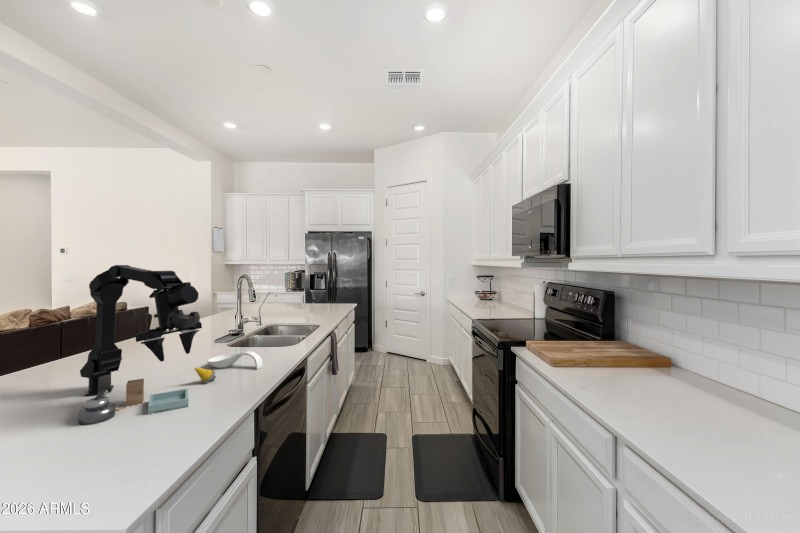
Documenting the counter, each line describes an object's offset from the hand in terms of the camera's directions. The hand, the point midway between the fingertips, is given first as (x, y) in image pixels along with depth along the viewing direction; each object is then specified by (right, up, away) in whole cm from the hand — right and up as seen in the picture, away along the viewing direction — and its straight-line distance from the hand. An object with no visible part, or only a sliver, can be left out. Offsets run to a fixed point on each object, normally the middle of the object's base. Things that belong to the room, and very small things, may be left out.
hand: (175, 357), depth 103 cm
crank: (-19, -12, -5) cm, 23 cm away
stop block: (-14, -15, +1) cm, 20 cm away
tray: (-2, -15, 0) cm, 15 cm away
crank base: (-16, -15, -9) cm, 23 cm away
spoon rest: (-1, -15, +39) cm, 41 cm away
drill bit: (-2, -15, +19) cm, 24 cm away
